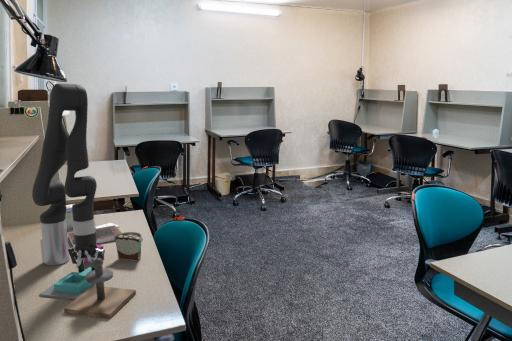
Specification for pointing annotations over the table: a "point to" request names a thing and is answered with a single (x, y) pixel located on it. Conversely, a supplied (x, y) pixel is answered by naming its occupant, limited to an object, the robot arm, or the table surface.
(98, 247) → the puzzle toy
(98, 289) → the stand
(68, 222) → the light bulb box
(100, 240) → the picture frame
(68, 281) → the teal square racket
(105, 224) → the external hard drive
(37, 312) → the table surface
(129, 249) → the food container
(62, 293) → the mat
